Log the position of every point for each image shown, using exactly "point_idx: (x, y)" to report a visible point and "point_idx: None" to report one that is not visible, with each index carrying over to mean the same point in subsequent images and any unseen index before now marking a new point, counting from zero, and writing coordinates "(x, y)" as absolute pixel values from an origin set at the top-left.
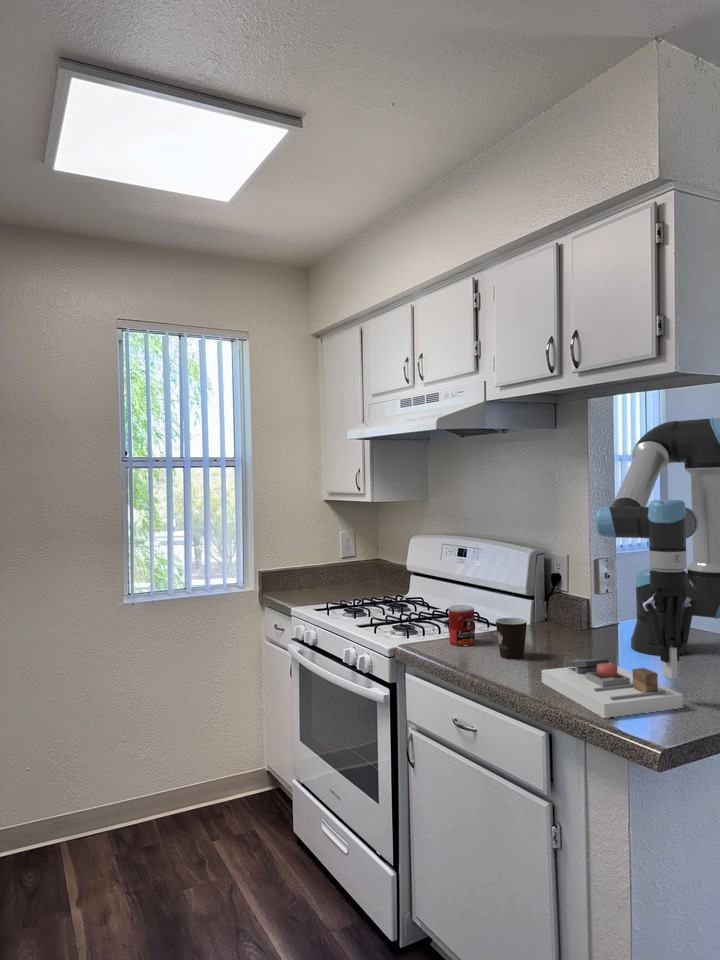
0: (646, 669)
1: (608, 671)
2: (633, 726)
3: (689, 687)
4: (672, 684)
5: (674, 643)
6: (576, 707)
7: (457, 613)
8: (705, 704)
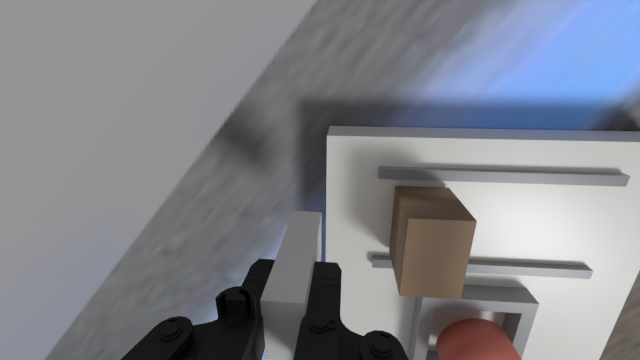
0: (407, 277)
1: (504, 340)
2: (622, 32)
3: (189, 265)
4: None
5: (255, 337)
6: None
7: None
8: (235, 137)
